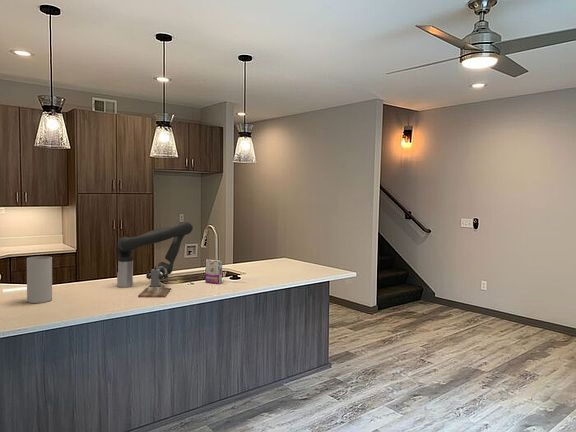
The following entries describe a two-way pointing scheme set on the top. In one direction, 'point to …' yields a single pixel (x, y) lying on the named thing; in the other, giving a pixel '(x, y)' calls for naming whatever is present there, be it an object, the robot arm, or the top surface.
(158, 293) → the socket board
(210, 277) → the candy bar box
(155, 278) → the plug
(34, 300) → the cylinder vase
